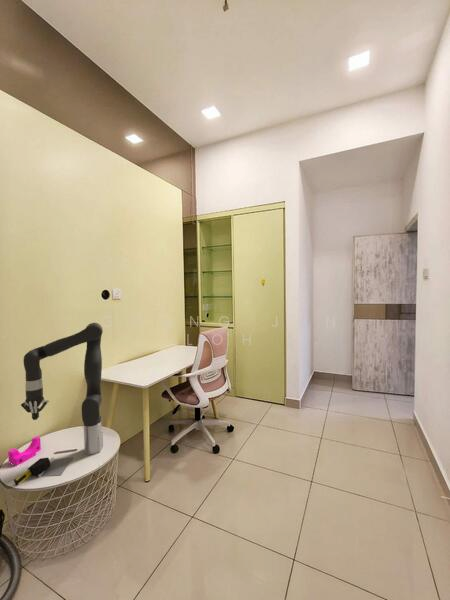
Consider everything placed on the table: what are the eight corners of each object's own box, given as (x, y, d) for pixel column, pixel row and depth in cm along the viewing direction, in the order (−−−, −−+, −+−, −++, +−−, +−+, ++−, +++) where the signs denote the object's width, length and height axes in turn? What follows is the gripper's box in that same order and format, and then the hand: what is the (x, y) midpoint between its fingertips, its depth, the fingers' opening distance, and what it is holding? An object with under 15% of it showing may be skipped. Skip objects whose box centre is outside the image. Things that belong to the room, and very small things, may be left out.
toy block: (16, 467, 141) (16, 453, 141) (8, 464, 143) (8, 451, 143) (43, 450, 156) (43, 438, 155) (36, 448, 158) (35, 436, 157)
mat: (72, 457, 148) (72, 455, 148) (61, 475, 135) (60, 472, 135) (52, 459, 147) (52, 457, 147) (38, 477, 133) (38, 474, 133)
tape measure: (40, 458, 141) (52, 456, 139) (42, 465, 141) (54, 463, 140) (13, 479, 127) (26, 477, 125) (16, 487, 127) (29, 485, 125)
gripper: (51, 384, 147) (52, 414, 148) (24, 385, 145) (25, 416, 145) (44, 389, 139) (45, 421, 140) (16, 391, 137) (17, 423, 138)
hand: (35, 419), depth 143 cm, fingers closed
